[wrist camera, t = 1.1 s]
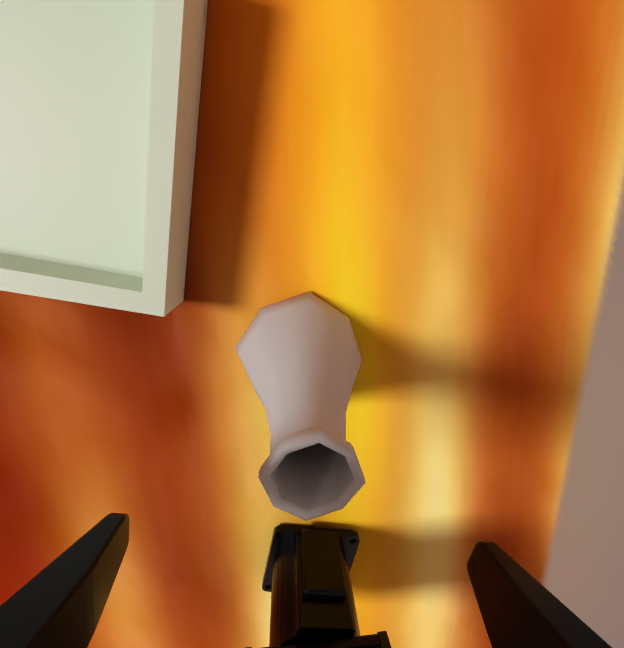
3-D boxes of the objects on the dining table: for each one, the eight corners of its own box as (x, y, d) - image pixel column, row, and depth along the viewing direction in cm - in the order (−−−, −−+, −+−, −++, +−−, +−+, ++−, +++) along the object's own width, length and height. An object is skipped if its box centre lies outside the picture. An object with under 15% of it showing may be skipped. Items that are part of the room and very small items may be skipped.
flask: (311, 267, 18) (339, 327, 8) (381, 359, 20) (466, 488, 11) (213, 343, 19) (141, 472, 9) (290, 423, 21) (293, 592, 12)
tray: (183, 300, 18) (163, 316, 15) (-106, 251, 16) (-191, 259, 13) (209, -14, 14) (188, -75, 11) (-181, -132, 12) (-331, -242, 9)
